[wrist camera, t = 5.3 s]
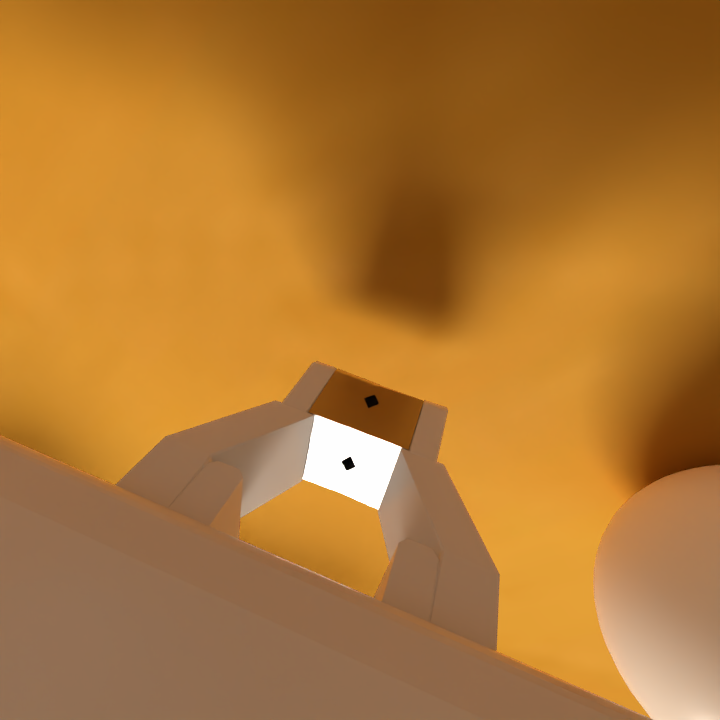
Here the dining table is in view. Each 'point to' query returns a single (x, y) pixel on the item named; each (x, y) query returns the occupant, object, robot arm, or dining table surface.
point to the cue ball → (665, 594)
